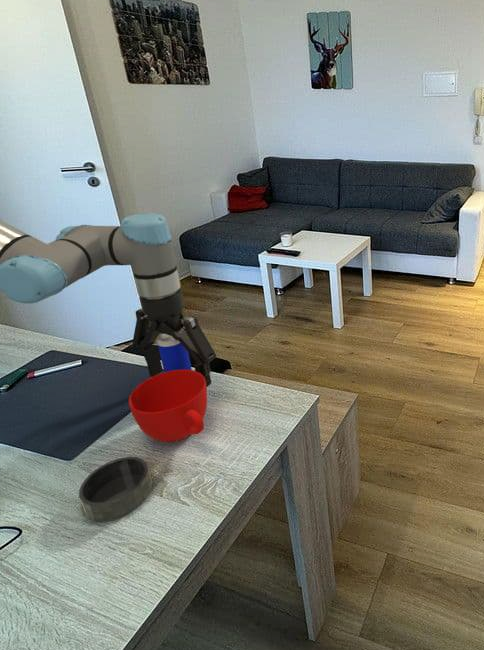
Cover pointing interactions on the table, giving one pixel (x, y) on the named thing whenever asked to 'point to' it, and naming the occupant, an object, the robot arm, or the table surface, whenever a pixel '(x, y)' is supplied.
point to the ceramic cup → (170, 405)
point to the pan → (115, 489)
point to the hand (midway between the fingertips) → (180, 380)
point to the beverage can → (173, 354)
